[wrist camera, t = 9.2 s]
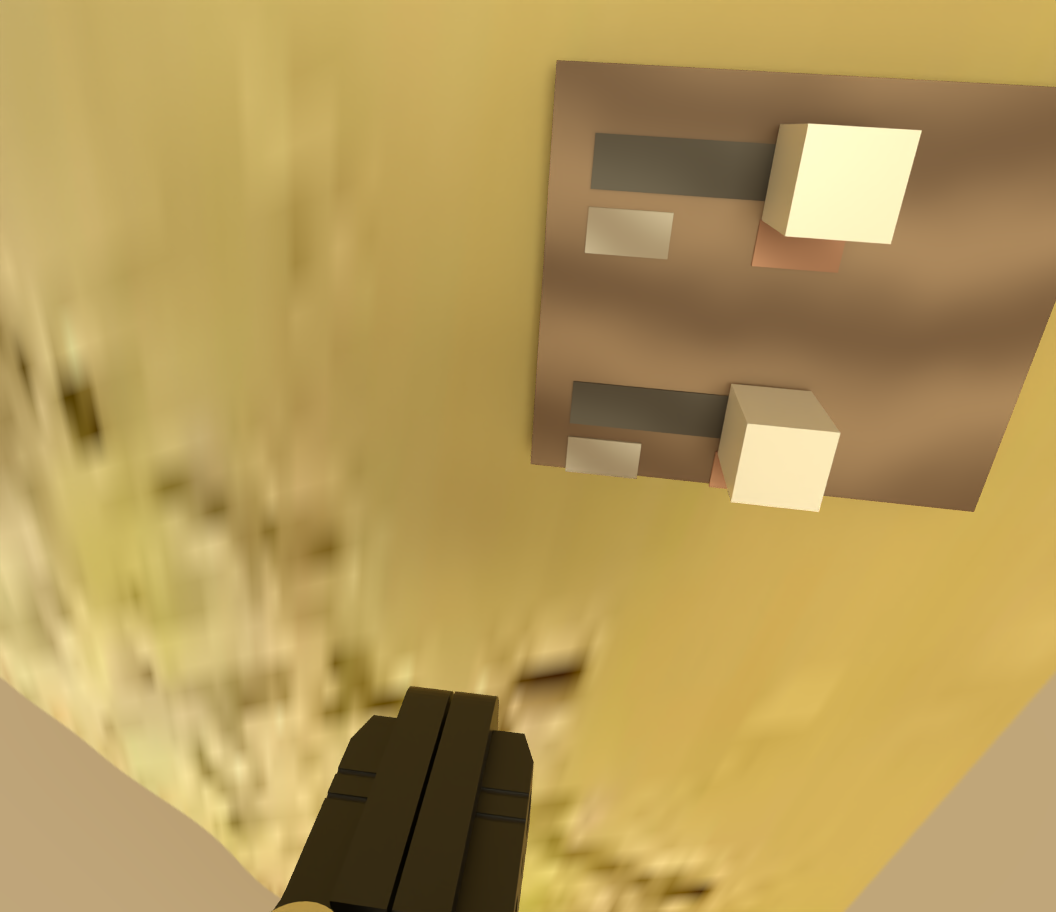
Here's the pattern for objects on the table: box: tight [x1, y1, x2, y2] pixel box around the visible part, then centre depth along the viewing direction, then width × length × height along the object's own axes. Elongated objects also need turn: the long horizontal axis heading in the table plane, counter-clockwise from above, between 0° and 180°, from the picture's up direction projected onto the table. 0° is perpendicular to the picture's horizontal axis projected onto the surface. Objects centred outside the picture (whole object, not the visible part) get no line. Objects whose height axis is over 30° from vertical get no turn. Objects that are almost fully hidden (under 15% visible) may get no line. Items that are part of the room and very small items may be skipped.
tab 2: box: [762, 124, 922, 244], centre depth 21 cm, size 3×3×4 cm
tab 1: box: [718, 384, 840, 512], centre depth 25 cm, size 3×3×4 cm
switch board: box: [531, 60, 1056, 512], centre depth 26 cm, size 15×18×2 cm
